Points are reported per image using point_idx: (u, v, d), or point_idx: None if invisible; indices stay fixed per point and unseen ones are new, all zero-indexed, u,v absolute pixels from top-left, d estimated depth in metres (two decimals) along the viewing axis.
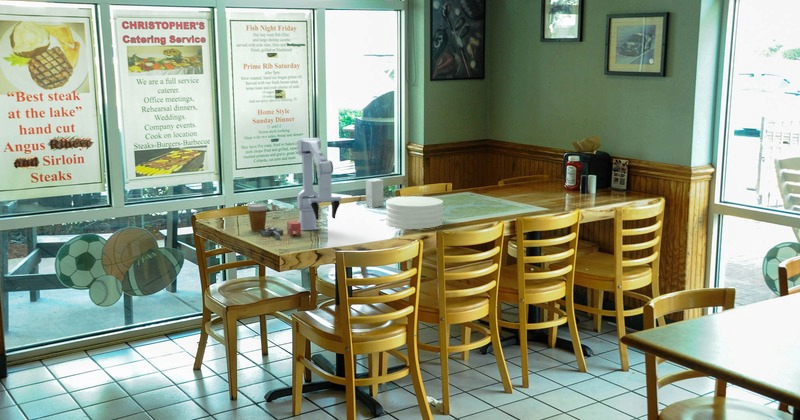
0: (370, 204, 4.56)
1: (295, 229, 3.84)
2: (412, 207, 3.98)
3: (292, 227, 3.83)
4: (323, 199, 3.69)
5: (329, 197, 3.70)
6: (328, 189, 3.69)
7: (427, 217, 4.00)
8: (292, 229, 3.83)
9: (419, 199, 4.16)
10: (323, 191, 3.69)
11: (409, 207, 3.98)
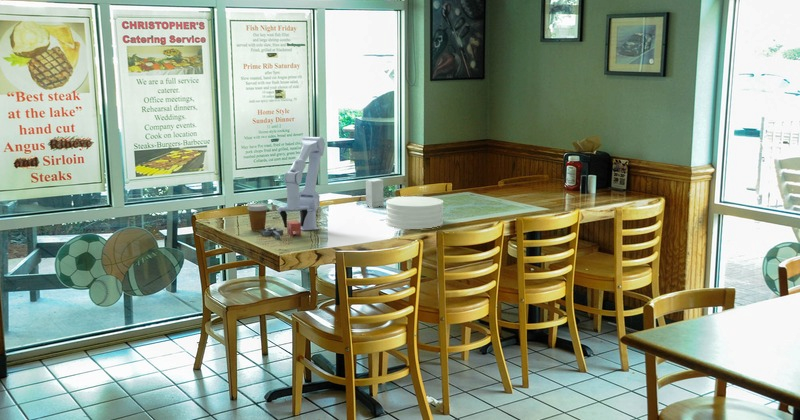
0: (370, 204, 4.56)
1: (295, 229, 3.84)
2: (412, 207, 3.98)
3: (292, 227, 3.83)
4: (291, 208, 3.82)
5: (297, 206, 3.83)
6: (296, 198, 3.82)
7: (427, 217, 4.00)
8: (292, 229, 3.83)
9: (419, 199, 4.16)
10: (291, 200, 3.82)
11: (409, 207, 3.98)
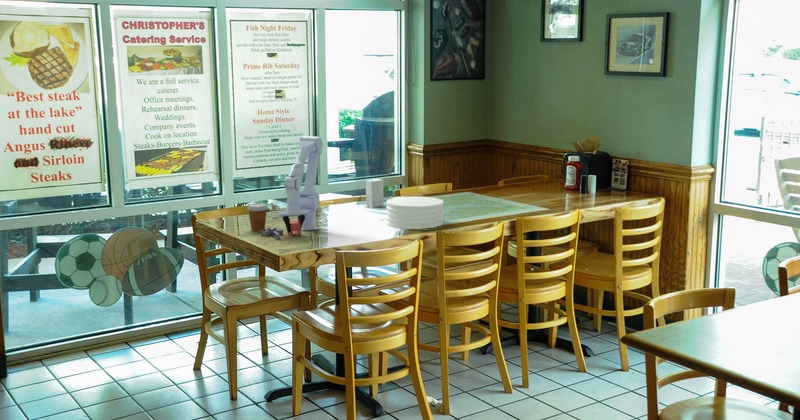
0: (370, 204, 4.56)
1: (295, 229, 3.84)
2: (413, 207, 3.98)
3: (292, 227, 3.83)
4: (291, 213, 3.83)
5: (297, 211, 3.84)
6: (296, 204, 3.83)
7: (428, 217, 4.00)
8: (292, 229, 3.83)
9: (419, 199, 4.16)
10: (291, 206, 3.82)
11: (410, 207, 3.98)
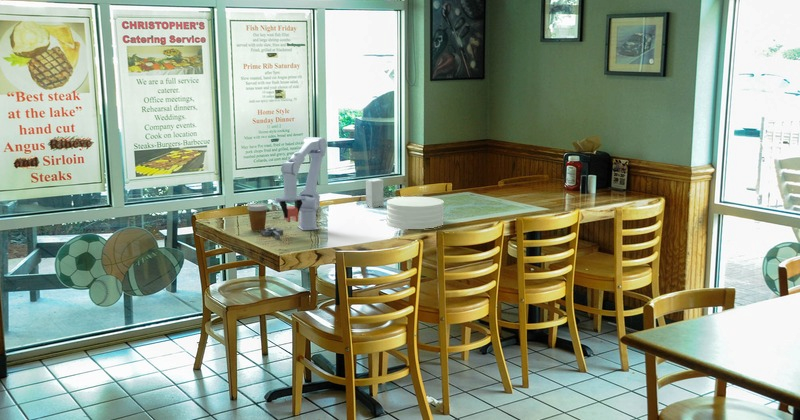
0: (370, 204, 4.56)
1: (292, 214, 3.81)
2: (413, 207, 3.98)
3: (289, 212, 3.81)
4: (288, 198, 3.80)
5: (294, 196, 3.81)
6: (293, 189, 3.80)
7: (428, 217, 4.00)
8: (289, 214, 3.81)
9: (420, 199, 4.16)
10: (288, 191, 3.80)
11: (410, 207, 3.98)
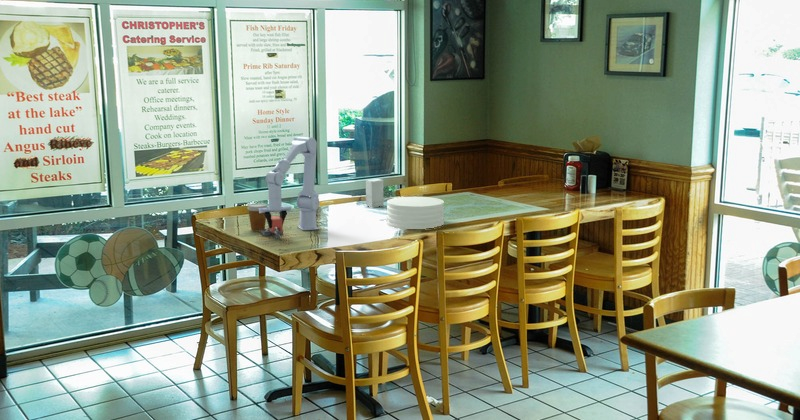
0: (370, 204, 4.56)
1: (277, 225, 3.78)
2: (413, 207, 3.98)
3: (274, 223, 3.77)
4: (273, 209, 3.77)
5: (279, 207, 3.78)
6: (278, 199, 3.77)
7: (428, 217, 4.00)
8: (274, 225, 3.77)
9: (420, 199, 4.16)
10: (273, 201, 3.76)
11: (410, 207, 3.98)
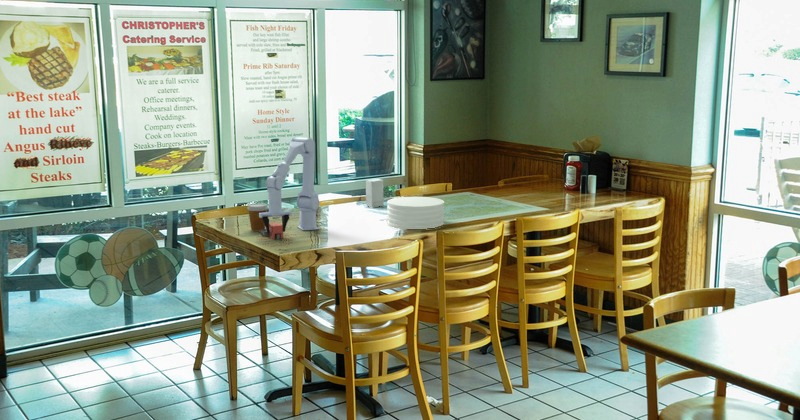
0: (370, 204, 4.56)
1: (277, 231, 3.78)
2: (413, 207, 3.98)
3: (274, 229, 3.78)
4: (273, 213, 3.77)
5: (279, 211, 3.78)
6: (278, 203, 3.77)
7: (428, 217, 4.00)
8: (274, 231, 3.78)
9: (420, 199, 4.16)
10: (273, 206, 3.77)
11: (410, 207, 3.98)
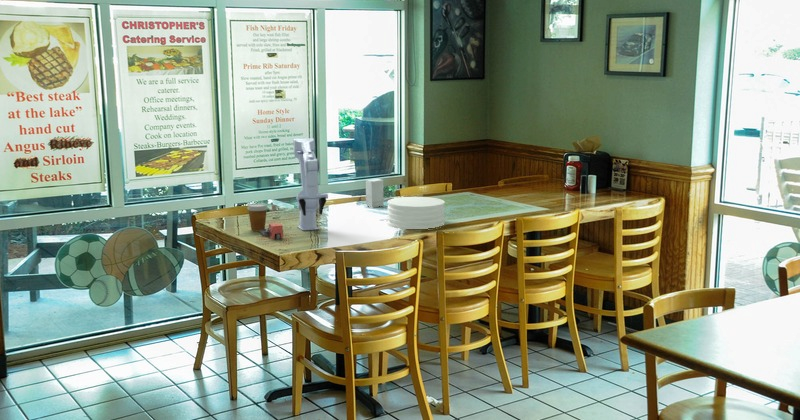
0: (370, 204, 4.56)
1: (277, 231, 3.78)
2: (414, 207, 3.97)
3: (274, 229, 3.78)
4: (310, 196, 3.82)
5: (316, 194, 3.83)
6: (315, 186, 3.82)
7: (429, 217, 4.00)
8: (274, 231, 3.78)
9: (421, 199, 4.15)
10: (310, 188, 3.81)
11: (411, 207, 3.98)
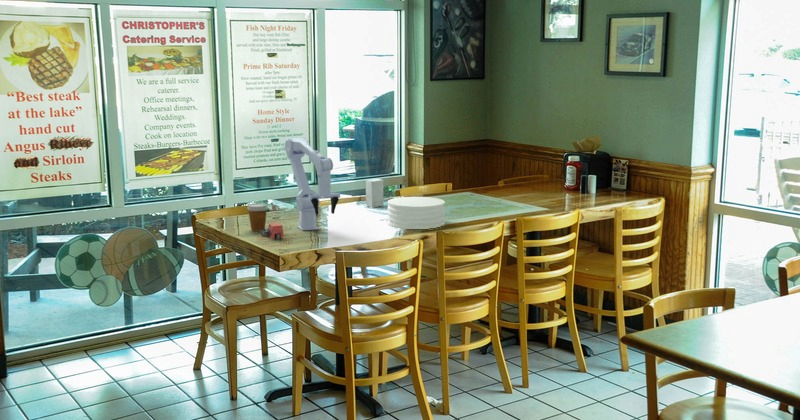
0: (370, 204, 4.56)
1: (277, 231, 3.78)
2: (414, 207, 3.97)
3: (274, 229, 3.78)
4: (323, 195, 3.84)
5: (328, 193, 3.85)
6: (327, 185, 3.83)
7: (429, 217, 3.99)
8: (274, 231, 3.78)
9: (421, 199, 4.15)
10: (323, 188, 3.83)
11: (411, 207, 3.97)
